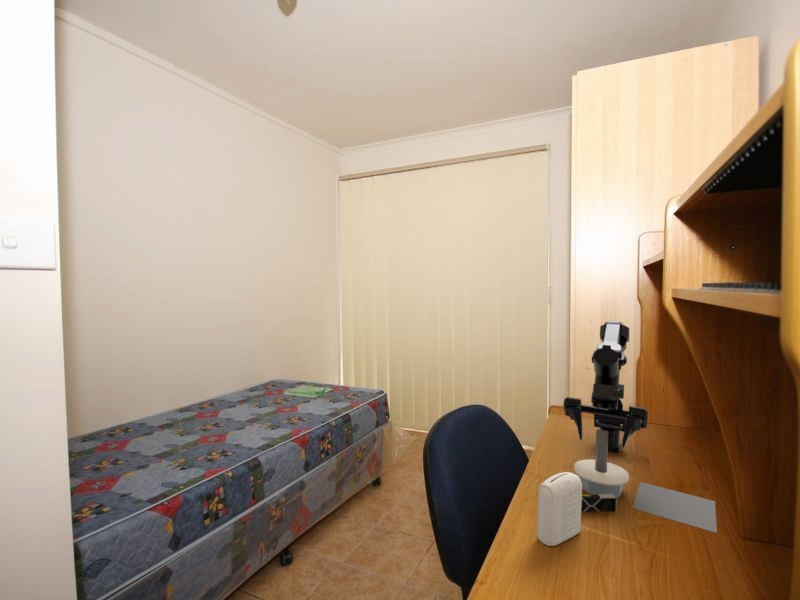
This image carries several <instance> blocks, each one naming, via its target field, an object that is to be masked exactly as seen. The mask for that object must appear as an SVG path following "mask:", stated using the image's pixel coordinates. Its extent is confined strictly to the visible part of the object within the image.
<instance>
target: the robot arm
mask: <svg viewBox="0 0 800 600" xmlns="http://www.w3.org/2000/svg"><path fill="white" fill-rule="evenodd" d="M623 323H624V322H621V321H615V320H614V321H613V320H612V321H610V320H607V321H605V322H604V324H602V325H601V326H600V327H599V328H600V329H599V339H600V341H601V343H599V344H597V346H596V349H595V350H593V353H592V355H591V363H592V364H593V368H594V373H595V375H594V376H595V377H594V383H593V384H592V386H593V387H592V392H591V400H590V401H591V403H592V404H591V405H590V404H582V398H577V397H569V396H567V397H565V398H564V399H563V411H564V416H566V417H569V419H570V420H572V421H574V424H575V426H576V429H577V432H578V438H579V440H580V441H583V437H584V436H583V417H582V413H585V414H592V415H593V428H599V429H602V430H606V431H608V451H610V452H614V453H620V452H621V450H622V449H625V448H626V446H627V444H628V442H629V440H630V438H631V437H632V435H634V433H635V432H636V431H641V429H648V418H649V417H648V416H649V415H648V409H646V408H645V407H641V406H633V405H628V410H624V404H623V402H622V400H624V396H625V394H624V393H625V384H620V374H621V373H620V372H621V371H620V370H622V367H625V365H626V364H627V362H628V357H627V356H626V354H625V353H624V351H625V350H627V343H629V342H630V327H629V326H627V325H625V324H623ZM621 432H622V433H623V437H622V442H621V443H620V441H621Z"/></svg>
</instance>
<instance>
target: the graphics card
mask: <svg viewBox="0 0 800 600" xmlns="http://www.w3.org/2000/svg"><path fill="white" fill-rule="evenodd" d="M617 504H618V497H615V496H614V495H613V494H598V495H592V494H582V507H581V513H600V512H604V511H605V512H610V511H613V512H617V507H618V506H617Z"/></svg>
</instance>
